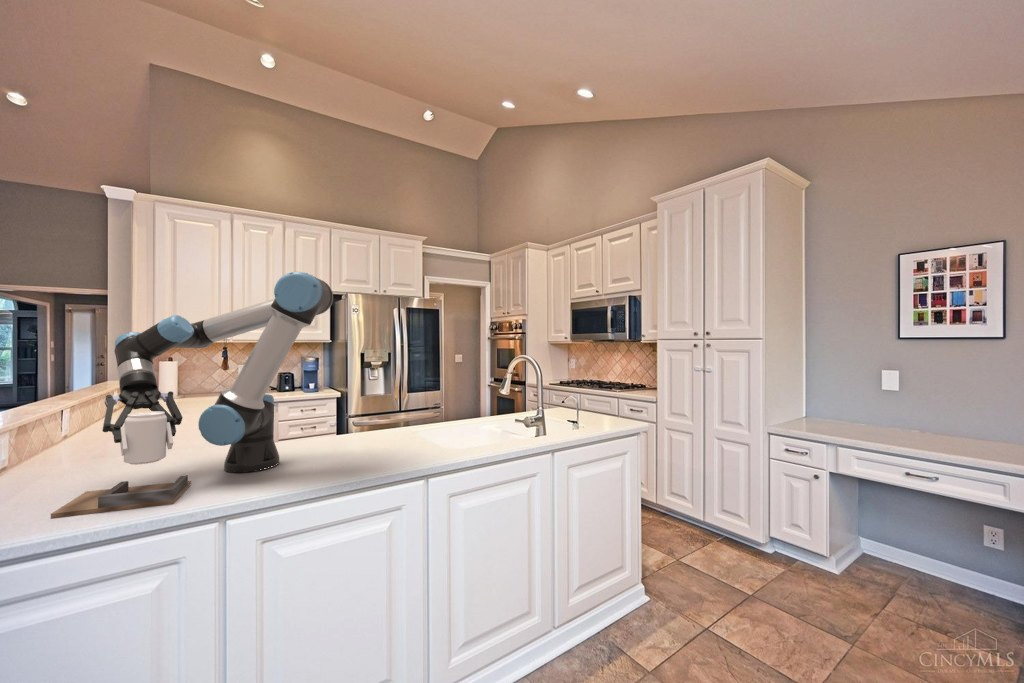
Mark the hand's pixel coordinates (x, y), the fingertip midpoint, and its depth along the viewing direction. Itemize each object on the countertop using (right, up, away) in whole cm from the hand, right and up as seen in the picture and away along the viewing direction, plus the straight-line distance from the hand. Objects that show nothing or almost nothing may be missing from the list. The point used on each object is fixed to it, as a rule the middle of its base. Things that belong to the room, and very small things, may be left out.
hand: (148, 448), depth 105 cm
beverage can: (-3, -4, +2) cm, 5 cm away
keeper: (-6, -13, +1) cm, 14 cm away
